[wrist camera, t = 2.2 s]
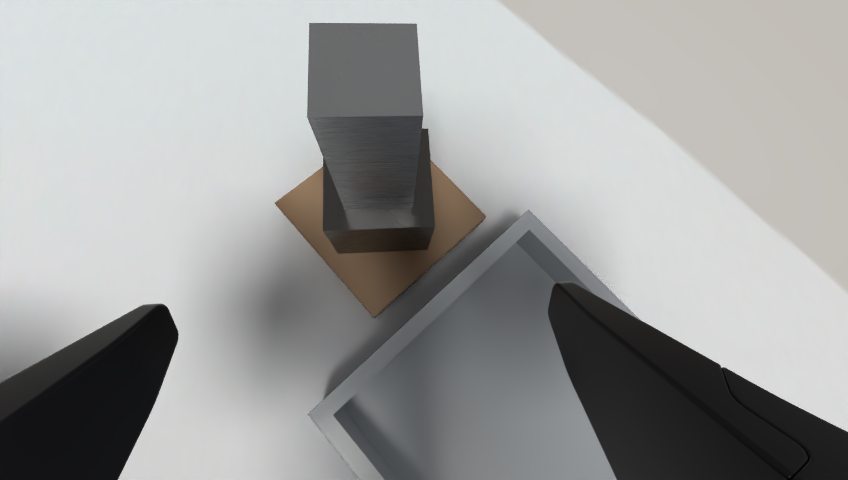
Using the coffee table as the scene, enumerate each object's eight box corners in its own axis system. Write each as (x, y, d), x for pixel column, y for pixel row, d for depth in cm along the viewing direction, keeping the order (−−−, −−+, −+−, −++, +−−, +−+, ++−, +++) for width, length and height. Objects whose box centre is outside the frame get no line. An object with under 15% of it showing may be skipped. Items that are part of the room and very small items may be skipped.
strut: (427, 249, 22) (461, 146, 10) (338, 253, 21) (268, 150, 10) (422, 169, 23) (446, -3, 12) (338, 171, 23) (276, -5, 11)
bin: (518, 646, 18) (546, 716, 15) (322, 402, 20) (307, 414, 17) (694, 414, 21) (750, 428, 18) (509, 228, 24) (528, 209, 20)
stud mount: (374, 318, 22) (369, 313, 18) (279, 209, 23) (254, 181, 19) (482, 221, 24) (499, 197, 20) (389, 126, 25) (387, 85, 21)
